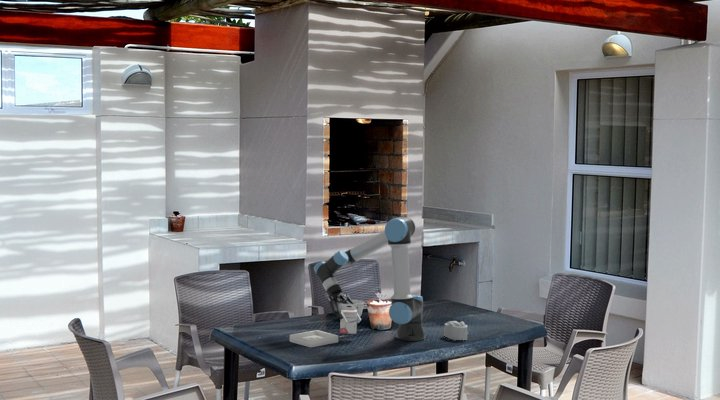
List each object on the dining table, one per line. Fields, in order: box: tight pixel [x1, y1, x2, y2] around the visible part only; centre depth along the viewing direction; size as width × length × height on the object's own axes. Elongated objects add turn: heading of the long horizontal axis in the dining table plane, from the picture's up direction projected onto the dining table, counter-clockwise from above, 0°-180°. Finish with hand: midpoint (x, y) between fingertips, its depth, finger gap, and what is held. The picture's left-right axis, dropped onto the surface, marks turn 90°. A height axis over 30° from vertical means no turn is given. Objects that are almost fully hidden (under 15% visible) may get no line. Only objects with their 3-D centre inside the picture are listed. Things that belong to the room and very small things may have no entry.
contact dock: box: [289, 329, 339, 348], centre depth 457 cm, size 16×19×4 cm
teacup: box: [339, 299, 365, 317], centre depth 519 cm, size 12×15×10 cm
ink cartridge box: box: [339, 304, 358, 335], centre depth 463 cm, size 9×5×15 cm, turn 92°
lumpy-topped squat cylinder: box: [443, 320, 468, 342], centre depth 477 cm, size 10×13×9 cm
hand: (352, 322), depth 461 cm, fingers closed on ink cartridge box, 9 cm apart
